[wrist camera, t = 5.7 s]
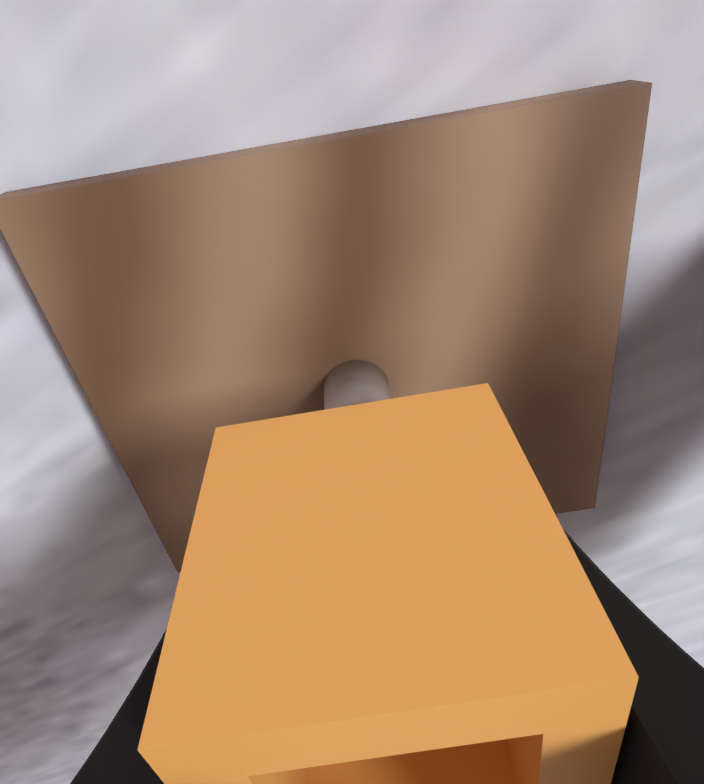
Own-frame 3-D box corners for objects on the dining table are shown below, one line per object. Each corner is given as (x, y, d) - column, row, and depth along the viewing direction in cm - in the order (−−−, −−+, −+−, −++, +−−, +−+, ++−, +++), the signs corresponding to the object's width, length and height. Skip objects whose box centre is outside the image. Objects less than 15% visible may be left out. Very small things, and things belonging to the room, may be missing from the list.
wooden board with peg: (630, 80, 13) (797, 102, 9) (583, 489, 21) (659, 615, 16) (5, 192, 14) (-146, 268, 9) (182, 551, 22) (148, 690, 17)
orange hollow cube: (487, 382, 11) (638, 676, 6) (491, 562, 14) (591, 856, 9) (215, 427, 11) (136, 750, 6) (278, 595, 14) (260, 902, 9)
